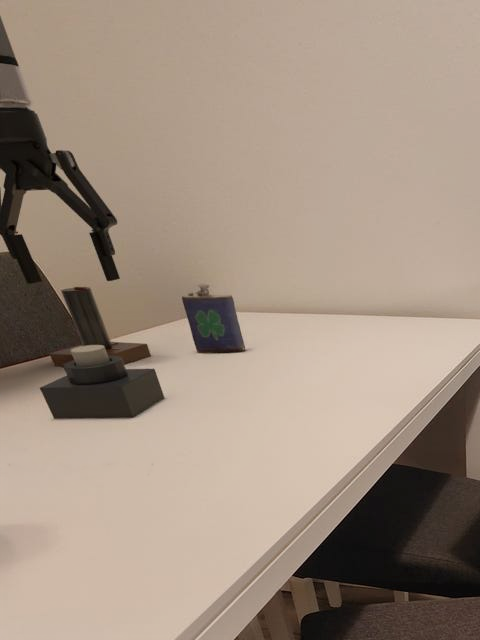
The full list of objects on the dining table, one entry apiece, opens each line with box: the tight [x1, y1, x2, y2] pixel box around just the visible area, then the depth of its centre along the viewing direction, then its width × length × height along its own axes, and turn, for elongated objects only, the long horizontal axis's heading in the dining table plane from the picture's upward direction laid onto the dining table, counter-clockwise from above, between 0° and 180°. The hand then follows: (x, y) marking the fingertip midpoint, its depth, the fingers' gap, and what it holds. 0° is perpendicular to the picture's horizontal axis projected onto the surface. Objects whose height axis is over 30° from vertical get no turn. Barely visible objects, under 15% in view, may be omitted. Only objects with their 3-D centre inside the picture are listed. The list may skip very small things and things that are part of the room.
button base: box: [39, 356, 165, 420], centre depth 80 cm, size 11×9×6 cm
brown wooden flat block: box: [49, 341, 152, 367], centre depth 104 cm, size 12×10×2 cm
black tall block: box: [60, 286, 113, 349], centre depth 100 cm, size 4×4×9 cm
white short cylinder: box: [71, 345, 110, 366], centre depth 77 cm, size 4×4×2 cm
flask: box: [181, 283, 246, 354], centre depth 105 cm, size 9×3×11 cm, turn 85°
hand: (74, 281), depth 97 cm, fingers open, 13 cm apart
